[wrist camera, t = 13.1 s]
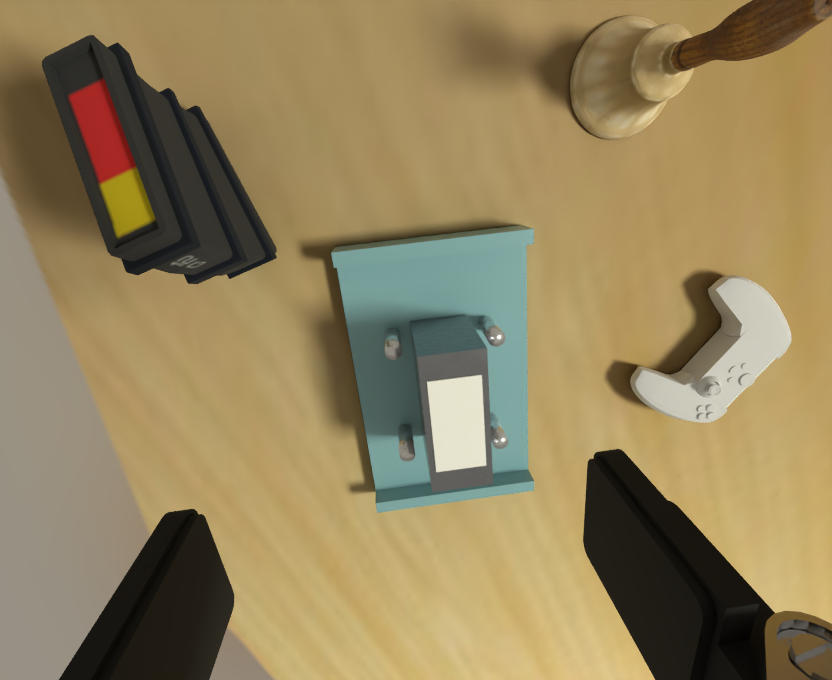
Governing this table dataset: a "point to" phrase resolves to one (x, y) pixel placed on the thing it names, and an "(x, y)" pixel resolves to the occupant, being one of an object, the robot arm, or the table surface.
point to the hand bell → (672, 59)
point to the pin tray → (394, 361)
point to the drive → (453, 401)
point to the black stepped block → (153, 170)
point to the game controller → (720, 355)
